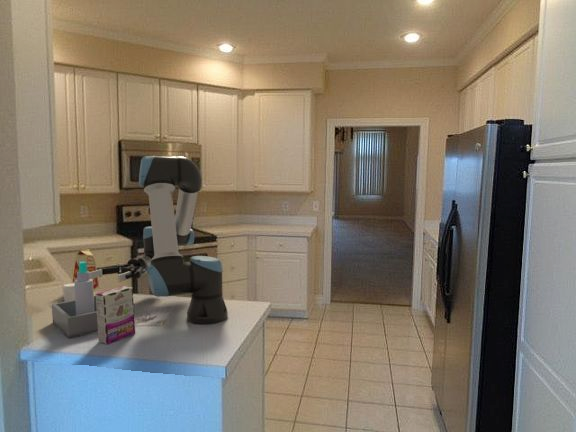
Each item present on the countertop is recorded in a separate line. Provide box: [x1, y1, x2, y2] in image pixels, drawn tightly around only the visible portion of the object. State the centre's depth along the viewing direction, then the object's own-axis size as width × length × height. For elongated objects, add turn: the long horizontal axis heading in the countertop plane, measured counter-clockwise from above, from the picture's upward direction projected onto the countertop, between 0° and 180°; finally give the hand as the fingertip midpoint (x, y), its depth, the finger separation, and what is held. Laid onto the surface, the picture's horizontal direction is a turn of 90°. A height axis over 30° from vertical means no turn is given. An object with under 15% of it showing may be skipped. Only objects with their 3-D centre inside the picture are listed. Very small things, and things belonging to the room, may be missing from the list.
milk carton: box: [71, 248, 100, 291], centre depth 200 cm, size 9×9×20 cm
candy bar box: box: [94, 285, 136, 345], centre depth 142 cm, size 11×5×16 cm, turn 148°
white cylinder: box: [61, 282, 75, 302], centre depth 184 cm, size 7×7×7 cm
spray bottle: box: [74, 262, 95, 315], centre depth 153 cm, size 6×6×22 cm
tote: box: [51, 295, 98, 340], centre depth 154 cm, size 20×16×7 cm
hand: (103, 277), depth 163 cm, fingers open, 13 cm apart
